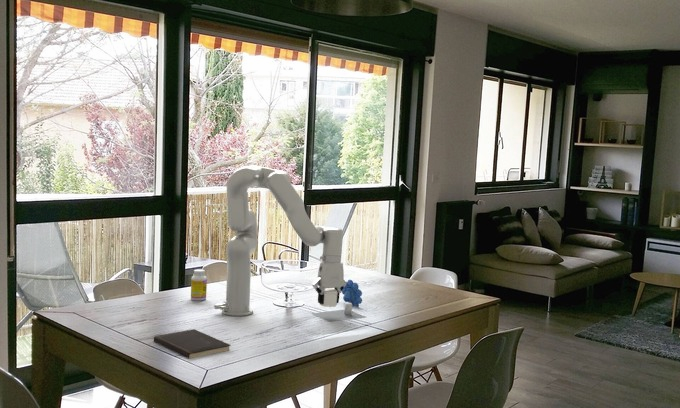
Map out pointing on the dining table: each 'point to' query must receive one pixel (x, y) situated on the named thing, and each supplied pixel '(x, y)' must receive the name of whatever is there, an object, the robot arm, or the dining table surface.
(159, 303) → the dining table surface
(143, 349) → the dining table surface
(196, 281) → the supplement bottle
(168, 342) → the hardcover book
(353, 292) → the grapes
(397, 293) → the dining table surface
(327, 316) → the board
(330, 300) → the cap
